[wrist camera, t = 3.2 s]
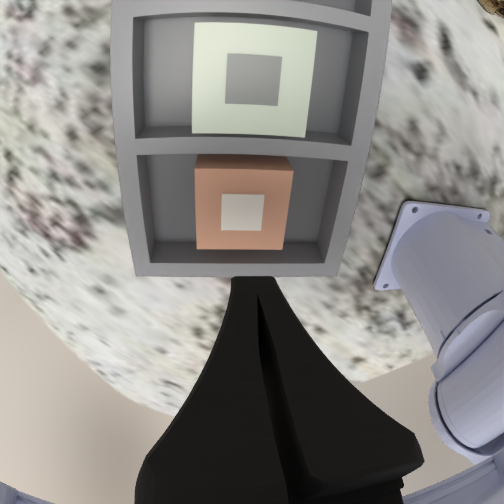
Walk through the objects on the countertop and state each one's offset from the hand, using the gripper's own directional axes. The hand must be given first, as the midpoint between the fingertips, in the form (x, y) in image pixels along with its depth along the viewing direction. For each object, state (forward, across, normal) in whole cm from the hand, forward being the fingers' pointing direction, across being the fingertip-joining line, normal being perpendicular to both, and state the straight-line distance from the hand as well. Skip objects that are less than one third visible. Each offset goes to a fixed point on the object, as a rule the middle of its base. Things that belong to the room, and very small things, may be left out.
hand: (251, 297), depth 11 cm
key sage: (+7, 0, -6) cm, 9 cm away
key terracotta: (+8, 0, 0) cm, 8 cm away
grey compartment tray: (+9, 0, -6) cm, 11 cm away
